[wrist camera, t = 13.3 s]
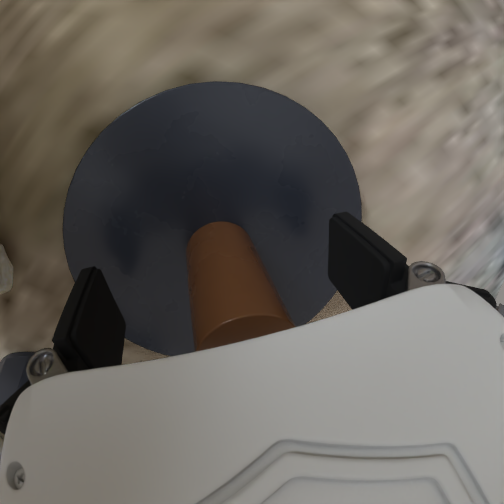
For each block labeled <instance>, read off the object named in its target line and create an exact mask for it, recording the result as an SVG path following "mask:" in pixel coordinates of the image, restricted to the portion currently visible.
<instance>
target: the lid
mask: <svg viewBox="0 0 504 504" xmlns="http://www.w3.org/2000/svg"><path fill="white" fill-rule="evenodd" d="M346 211H347V212H349V213H350V214H351V215H353V216H354V217H355V218H357V219H358V220H359V221H361V222H362V210H361V198H360V191H359V186H358V182H357V179H356V175H355V172H354V169H353V167H352V165H351V162H350V160H349V158H348V156H347V154H346V152H345V150H344V149H343V147H342V146H341V144H340V143H339V141H338V140H337V138H336V137H335V135H334V134H333V133H332V132H331V131H330V130H329V129H328V128H327V126H326V125H325V124H324V123H323V122H322V121H321V120H320V119H319V118H317V117H316V116H315V115H314V114H312V113H311V112H310V111H309V110H307V109H306V108H305V107H303V106H302V105H300V104H298V103H296V102H295V101H293V100H291V99H289V98H288V97H286V96H284V95H281V94H279V93H276V92H273V91H271V90H268V89H265V88H262V87H258V86H253V85H248V84H244V83H236V82H217V81H215V82H204V83H194V84H188V85H184V86H180V87H176V88H173V89H169V90H165V91H163V92H161V93H158V94H156V95H154V96H152V97H149V98H147V99H145V100H143V101H141V102H139V103H138V104H136V105H135V106H133V107H131V108H130V109H128V110H127V111H125V112H124V113H122V114H121V115H120V116H119V117H117V118H116V119H115V120H114V121H113V122H112V123H111V124H110V125H108V126H107V127H106V128H105V129H104V130H103V131H102V132H101V133H100V135H99V136H98V137H97V138H96V139H95V141H94V142H93V143H92V144H91V146H90V147H89V148H88V150H87V151H86V153H85V155H84V156H83V158H82V160H81V161H80V163H79V165H78V167H77V169H76V171H75V173H74V176H73V178H72V181H71V184H70V186H69V189H68V193H67V198H66V202H65V207H64V216H63V239H64V249H65V254H66V258H67V262H68V266H69V269H70V272H71V274H72V276H73V279H74V281H75V282H76V280H77V278H78V276H79V273H80V271H81V270H82V269H85V268H89V267H93V266H95V267H96V268H97V269H100V270H101V271H102V273H103V275H104V277H105V280H106V282H107V284H108V286H109V289H110V291H111V293H112V295H113V297H114V299H115V301H116V303H117V306H118V308H119V310H120V312H121V314H122V316H123V318H124V320H125V323H126V331H125V338H126V339H128V340H130V341H131V342H133V343H135V344H137V345H139V346H142V347H144V348H146V349H148V350H151V351H154V352H157V353H161V354H164V355H168V356H177V355H182V354H187V353H192V352H197V351H202V350H206V349H211V348H215V347H220V346H224V345H229V344H233V343H237V342H241V341H245V340H249V339H253V338H257V337H261V336H265V335H269V334H273V333H276V332H280V331H284V330H287V329H291V328H295V327H298V326H301V325H305V324H306V323H307V322H309V321H310V320H311V319H312V318H313V317H314V316H315V315H316V314H318V313H319V312H320V311H321V310H322V309H323V308H324V306H325V305H326V304H327V303H328V302H329V301H330V299H331V298H332V297H333V296H334V294H335V293H336V291H337V289H336V288H335V286H334V285H333V284H332V282H331V281H330V280H329V277H328V248H329V219H330V218H332V216H333V214H335V213H341V212H346Z"/></svg>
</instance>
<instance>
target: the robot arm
mask: <svg viewBox="0 0 504 504" xmlns="http://www.w3.org/2000/svg"><path fill="white" fill-rule="evenodd" d="M406 261H407V258H406V257H405V256H404V255H402V254H401V253H400V252H399V251H398V250H396V249H395V248H394V247H393V246H391V245H390V244H389V243H388V242H386V241H385V240H384V239H383V238H381V237H380V236H379V235H378V234H376V233H375V232H374V231H372V230H371V229H370V228H368V227H367V226H366V225H365V224H363V223H362V222H361V221H359V220H358V219H357V218H355V217H354V216H353V215H351V214H350V213H349V212H347V211H346V212H341V213H335V214H333V216H332V218H330V219H329V248H328V277H329V280H330V281H331V282H332V284H333V285H334V286H335V288H336V289H337V290H338V291H339V293H340V294H341V295H342V297H343V298H344V299H345V300H346V302H347V303H348V304H349V306H350V307H351V308H352V310H350V311H347V312H344V313H341V314H338V315H335V316H331V317H328V318H325V319H322V320H318V321H315V322H312V323H308V324H305V325H301V326H298V327H295V328H291V329H287V330H284V331H280V332H276V333H273V334H269V335H265V336H261V337H257V338H253V339H249V340H245V341H241V342H237V343H233V344H229V345H224V346H220V347H215V348H211V349H206V350H202V351H197V352H192V353H187V354H182V355H177V356H171V357H166V358H160V359H155V360H149V361H143V362H137V363H130V364H124V365H121V363H122V354H123V346H124V338H125V331H126V323H125V320H124V318H123V316H122V314H121V312H120V310H119V308H118V306H117V303H116V301H115V299H114V297H113V295H112V293H111V291H110V289H109V286H108V284H107V282H106V280H105V277H104V275H103V273H102V271H101V270H100V269H97V268H96V267H95V266H93V267H89V268H85V269H82V270H81V271H80V273H79V276H78V278H77V280H76V282H75V284H74V286H73V289H72V291H71V293H70V296H69V298H68V300H67V303H66V305H65V307H64V310H63V312H62V315H61V317H60V320H59V322H58V325H57V328H56V330H55V333H54V336H53V339H52V341H53V343H54V347H53V349H51V348H44V349H41V350H39V351H37V352H36V353H35V354H34V355H33V356H32V357H31V358H30V360H29V361H28V364H27V367H26V373H27V376H28V379H29V380H28V381H27V382H26V383H25V384H24V385H22V386H21V387H20V388H19V389H18V390H17V391H16V392H15V393H14V394H13V395H11V396H10V397H9V398H8V399H7V400H6V401H5V402H4V403H3V404H2V405H1V406H0V504H504V305H502V304H499V306H496V301H495V299H494V298H493V296H492V295H491V294H490V293H489V292H488V291H486V290H484V289H479V288H475V287H470V286H466V285H461V284H457V283H452V282H448V281H446V280H445V275H444V272H443V271H442V270H441V268H439V267H438V266H437V265H435V264H432V263H429V262H425V261H419V262H414V263H412V264H411V265H410V266H408V265H407V264H406Z"/></svg>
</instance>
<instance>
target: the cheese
mask: <svg viewBox="0 0 504 504" xmlns="http://www.w3.org/2000/svg"><path fill="white" fill-rule="evenodd" d="M13 270H14V268H13V266H12V263H11V262H10V260H9V259H8V256H7V254H6V252H5V249H4V246H3V245H2V244H0V295H1V294H2V293H5V292H8V291H10V290H11V288H12V285H13Z"/></svg>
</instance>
